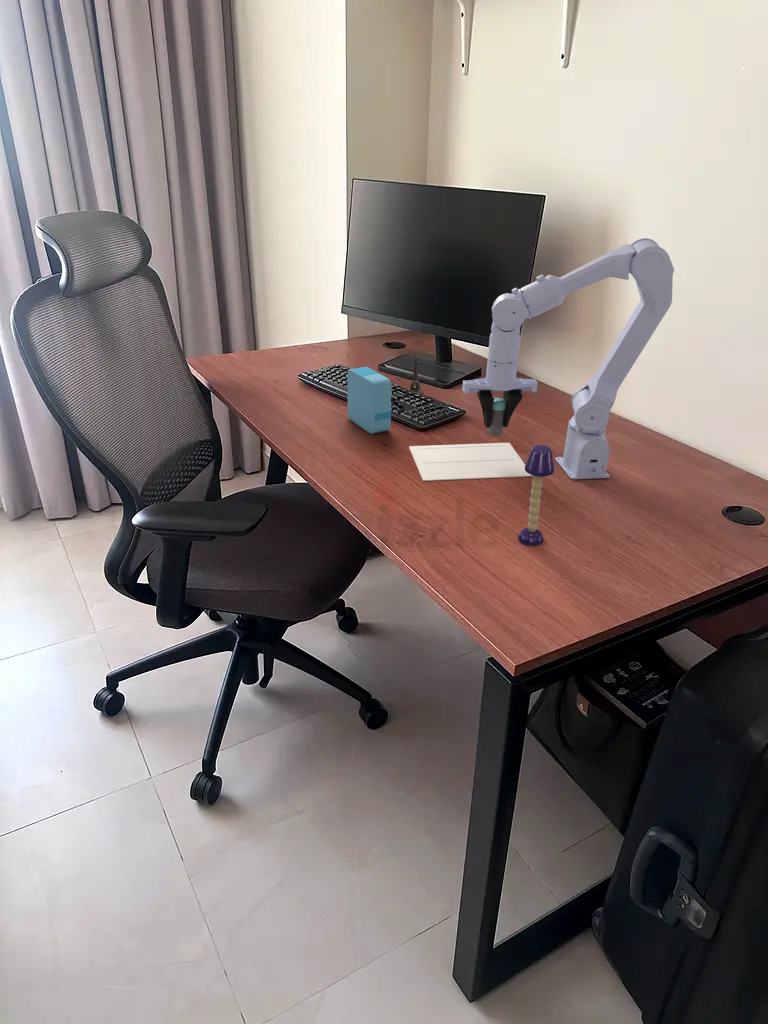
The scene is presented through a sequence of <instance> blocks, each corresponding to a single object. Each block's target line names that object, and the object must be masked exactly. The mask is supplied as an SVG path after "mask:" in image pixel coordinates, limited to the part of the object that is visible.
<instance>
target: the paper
mask: <svg viewBox="0 0 768 1024" xmlns="http://www.w3.org/2000/svg"><path fill="white" fill-rule="evenodd" d="M408 449H409V450H410V453H411V456H412V458H413V461H414V462H415V465H416V468H417V470H418V472H419V475H420V478H421V479H422V482H427V481H428V482H430V481H431V482H432V481H434V482H435V481H450V480H451V481H453V480H476V479H478V480H479V479H498V478H499V479H503V478H523V477H533V475H531V474H528V473H527V472H526V471H525V465H526V463H524V461H523V460H522V458H521V456H520V455H519V454H518V453H517V452H516V450H515V448H514V447H513V445H512V444H511V443H510V442H495V443H494V442H491V443H467V444H466V443H465V444H462V443H461V444H441V445H439V444H437V445H436V444H435V445H433V444H432V445H413V446H412V445H410V446H408Z"/></svg>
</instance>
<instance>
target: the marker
mask: <svg viewBox="0 0 768 1024" xmlns="http://www.w3.org/2000/svg"><path fill="white" fill-rule="evenodd" d="M493 398H494V403H493V407H492V412H491V424H490V428H487V433H486V434H487V435H489V436H491V437H501V436H502V435H503V429H504V426H503V422H504V414H505V409H506V400H505V399H504V397H503V398H501V397H493Z"/></svg>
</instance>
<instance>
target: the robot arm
mask: <svg viewBox="0 0 768 1024" xmlns="http://www.w3.org/2000/svg"><path fill="white" fill-rule="evenodd" d="M674 272H675V267H674V265H673V263H672V260H671V258H670V256H669V253H668V252H667V251H666V249H664V248H663V247H660V245H659V243H657V242H656V241H655V240H653V239H651V238H645V237H644V238H639V239H637V240H635V241H633V242H632V243H631V244H629V243H627V244H623V245H621V246H619V247H617V248H614V249H612V250H611V251H608V252H607V253H605V254H603V255H600V256H599V257H597V258H595V259H592V260H591V261H590V262H587V263H585V264H583V265H582V266H579V267H577V268H576V269H573V270H572V271H570V272H568V273H565V274H564V275H562V276H560V277H559V276H555V275H552V274H548V275H546V276H544V274H543V273H542V274H540V275H538V276H536V280H535V281H533V282H532V283H529V284H527V285H525V286H522V287H521V288H518V287H515V288H513V289H511V293H509V292H506V293H503V294H501V295H499V296H498V297H497V298H496V299H495V300H494V301H493V305H492V306H491V313H492V314H491V317H492V324H491V326H490V327H491V329H490V330H491V331H490V332H491V333H490V334H489V343H488V351H487V353H488V354H487V363H486V373H485V374H486V375H485V377H484V378H482V377H481V378H477V379H476V378H475V379H469V380H468V379H467V380H462V388H461V389H462V390H461V391H462V392H463V394H470V393H476V395H477V398H478V400H479V403H480V407H481V409H482V410H481V411H482V416H483V417H482V418H483V425H484V427H485V428H486V429H488V428H490V424H491V412H492V407H493V403H494V398H495V397H493V393H492V392H502V394H503V399H505V400H506V409H505V414H504V422H503V428H508V426H509V423H510V421H511V419H512V418H511V417H512V416H513V414H514V411H515V410H516V408H517V407H518V405H519V404H520V403H521V402H522V399H523V394H522V391H523V392H524V391H525V392H537V390H538V384H539V382H538V381H537V380H536V379H534V378H521V377H520V378H519V377H517V371H518V363H519V353H520V344H521V336H520V335H521V334H520V333H521V326H522V325H523V323H524V321H525V320H527V319H528V320H529V319H532V318H534V317H537V316H539V315H541V314H543V313H546V312H548V311H550V310H552V309H554V308H556V307H558V306H560V305H561V306H562V304H563V302H564V300H565V299H566V298H565V297H566V296H567V295H569V294H570V293H574V292H576V291H579V290H581V289H583V288H585V287H588V286H591V285H594V284H595V283H598V282H601V281H603V280H605V279H608V278H613V279H620V280H626V281H629V280H630V277H629V274H631V276H632V278H633V279H634V281H635V282H636V287H637V290H638V294H639V297H640V300H639V302H638V304H637V305H636V307H635V308H634V310H633V312H632V313H631V315H630V316H629V318H628V319H627V321H626V323H625V325H624V327H623V328H622V330H621V332H620V333H619V335H618V337H617V338H616V340H615V341H614V342H613V344H612V347H611V348H610V350H609V351H608V352H607V354H606V356H605V358H604V360H603V361H602V363H601V365H600V367H598V369H597V371H596V373H595V374H594V375H592V376H591V377H590V378H588V380H587V381H586V382H585V384H584V386H583V387H580V388H579V389H578V390H577V391H576V392H575V393H574V394H573V396H572V398H571V407H572V409H573V416H572V417H571V419H569V420H568V425H567V432H566V437H565V444H564V450H563V456H557V457H555V461H556V462H557V464H558V465H559V466H560V467H561V468H562V470H563V471H564V472H565V473H566V475H567V476H568V477H569V478H570V480H584V479H585V480H588V479H608V478H610V474H609V473H608V472H607V470H608V469H607V468H608V464H609V462H608V461H609V457H610V453H611V448H610V444H609V442H608V440H607V438H606V431H607V430H606V429H607V425H608V423H609V421H610V413H611V410H612V409H613V406H614V405H615V402H616V398H617V393H618V390H619V388H620V387H621V385H622V383H623V382H624V381H625V379H626V378H627V375H628V374H629V373H630V371H631V369H632V368H633V366H634V365H635V363H636V362H637V360H638V358H639V356H640V355H641V353H642V352H643V350H644V349H645V347H646V346H647V344H648V342H649V340H650V339H651V338H652V336H653V334H655V331H656V329H657V328H658V326H659V325H660V323H661V321H662V320H663V319H664V318H665V316H666V314H667V312H668V311H669V309H670V307H671V305H672V302H673V280H674V277H673V276H674Z"/></svg>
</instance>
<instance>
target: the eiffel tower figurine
mask: <svg viewBox="0 0 768 1024" xmlns="http://www.w3.org/2000/svg"><path fill="white" fill-rule="evenodd" d="M418 354H419V353H418V352H417V351H416V352H415V354H414V358H415V359H414V368H413V374H412V380H411V383H410V386H409V388H408V389H407V392H408V391H411V392H414V393H417V394H423V395H425V393H424V392H423V390H422V387H421V385H420V379H419V375H418V374H419V373H418V372H419V370H418V356H419V355H418Z"/></svg>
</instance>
